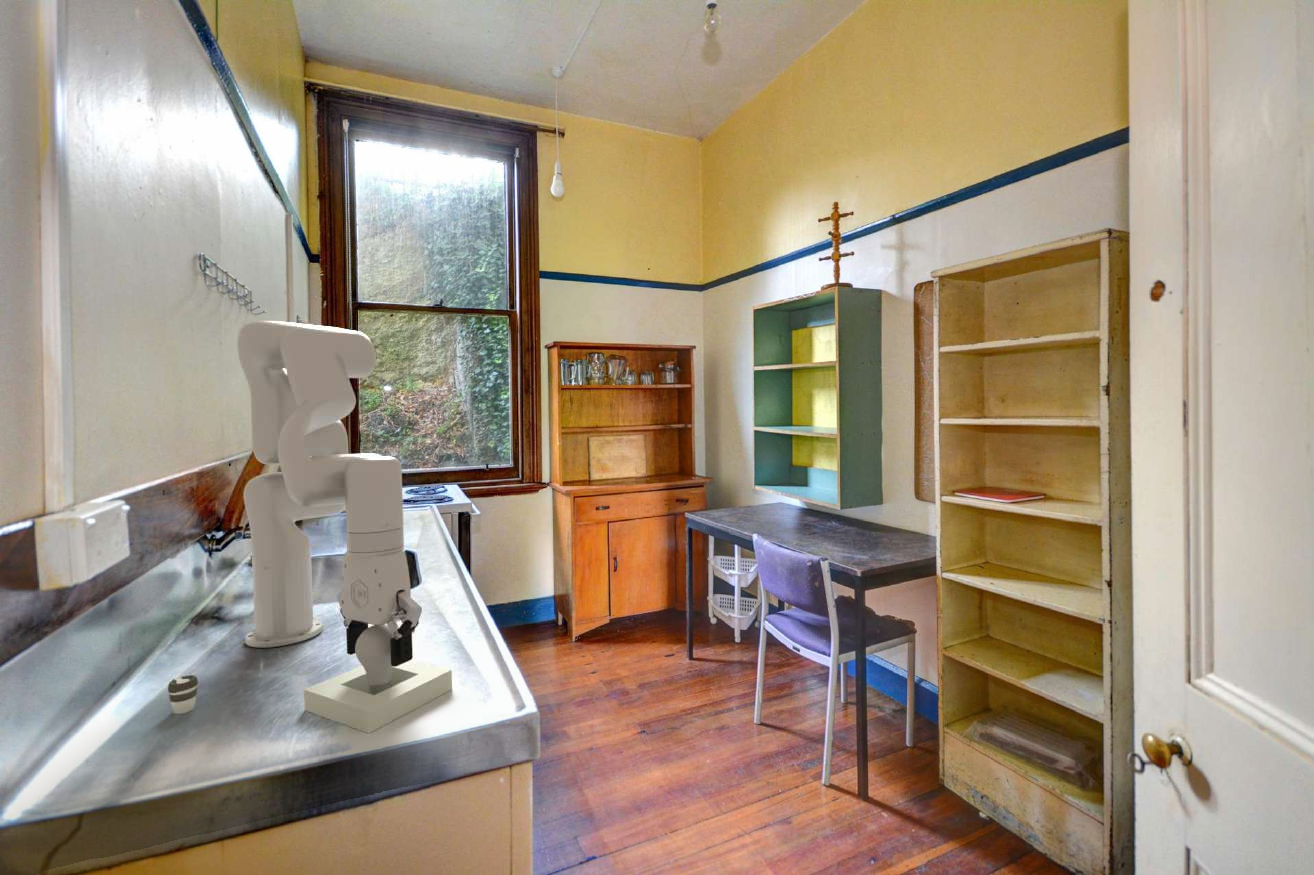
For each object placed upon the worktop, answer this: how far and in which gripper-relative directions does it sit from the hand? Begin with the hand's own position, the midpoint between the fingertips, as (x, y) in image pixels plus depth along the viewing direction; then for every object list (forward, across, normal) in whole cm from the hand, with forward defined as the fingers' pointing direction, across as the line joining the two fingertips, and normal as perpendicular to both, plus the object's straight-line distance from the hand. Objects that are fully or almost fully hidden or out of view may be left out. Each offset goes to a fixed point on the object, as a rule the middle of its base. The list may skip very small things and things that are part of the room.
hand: (379, 656), depth 86 cm
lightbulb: (+6, 0, 0) cm, 7 cm away
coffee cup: (+7, -23, -15) cm, 28 cm away
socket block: (+6, 0, 0) cm, 6 cm away
